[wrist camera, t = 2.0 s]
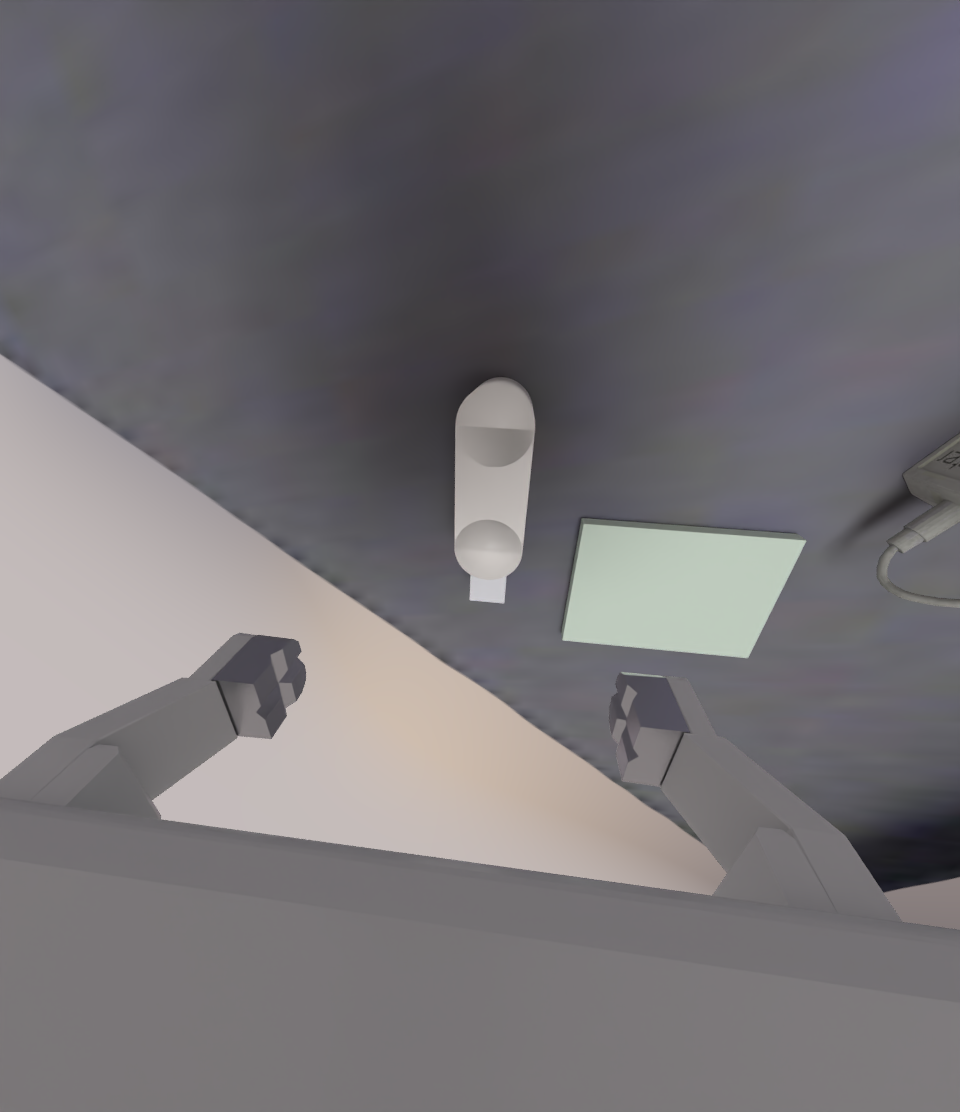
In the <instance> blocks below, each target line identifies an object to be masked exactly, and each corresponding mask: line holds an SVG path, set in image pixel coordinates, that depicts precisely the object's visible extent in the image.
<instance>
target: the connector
mask: <svg viewBox="0 0 960 1112" xmlns="http://www.w3.org/2000/svg"><path fill="white" fill-rule="evenodd" d="M534 435H535V418H534V411H533V405H532V401H531V398H530V396H529V394H528V392H527V390H526V389H525V388H524V387H523V386H522V385H521V384H520V383H518V382H517V381H515V380H513V379H510V378H506V377H496V378H492V379H489V380H487V381H485V382H483V383H482V384H481V385H480V386H478V387H477V388H476V389H475V390H474V391H473V392H472V393H470V394H469V395H468V396H467V397H466V398H465V400H464V401H463V402H462V404H461V406H460V408H459V410H458V413H457V417H456V425H455V555H456V558H457V561H458V563H459V564H460V566H461V567H462V568H463V569H464V570H465V571H466V572H467V573H469V574H470V575H471V577H470V600H473V601H484V602H495V603H504V599H505V587H506V576H507V575H509V574H510V573H512V572H513V571H514V570H515V569H516V568H517V566H518V565H519V563H520V561H521V558H522V551H523V541H524V532H525V522H526V512H527V503H528V493H529V483H530V474H531V464H532V454H533V445H534Z"/></svg>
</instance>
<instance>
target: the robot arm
mask: <svg viewBox="0 0 960 1112" xmlns="http://www.w3.org/2000/svg"><path fill="white" fill-rule="evenodd" d="M300 653H301V648H300V645H299V642H298V641H296V640H294V639H287V638H279V637H271V636H263V635H251V634H243V633H239V634H236V635H233V636H232V637H231V638H230V639H229V640H228V641H227V642H226V643H225V644H224V645H223V646H222V647H221V648H220V649H218V650H217V652H215V653H214V655H212V656H211V657H210V658H209V659H208V660H207V661H206V662H205V663H204V664H203V665H202V666H201V667H200V668H199V669H198V670H197V671H196V672H194V674H192V675H191V676H190V677H189V678H181V679H178V680H176V681H174V682H172V683H170V684H168V685H165V686H163V687H161V688H159V689H156V690H154V691H152V692H150V693H148V694H145V695H143V696H141V697H139V698H137V699H135V700H132V701H130V702H128V703H126V704H124V705H122V706H119V707H117V708H115V709H113V710H111V711H108V712H106V713H104V714H102V715H99V716H97V717H96V718H93V719H91V720H89V721H86V722H84V723H82V724H80V725H77V726H75V727H73V728H71V729H69V730H67V731H64V732H63V733H60V734H58V735H56V736H54V737H52V738H51V739H50V740H49V741H47V742H46V743H45V744H44V745H42V746H41V747H40V748H39V749H38V750H36V751H35V752H34V753H33V754H31V755H30V756H29V757H28V758H26V759H25V760H24V761H23V762H22V763H20V764H19V765H18V766H17V767H15V768H14V769H13V770H12V771H10V772H9V773H8V774H7V775H5V776H4V777H3V778H2V779H0V1112H960V930H957V929H949V928H942V927H935V926H928V925H920V924H913V923H905V922H902V920H901V919H900V917H899V916H898V915H897V913H896V911H895V910H894V908H893V907H892V905H891V904H890V902H889V901H888V899H887V898H886V897H885V895H884V893H883V892H882V890H881V889H880V887H879V886H878V884H877V883H876V881H875V880H874V878H873V877H872V875H871V874H870V872H869V871H868V869H867V868H866V866H865V865H864V863H863V862H862V860H861V859H860V857H859V856H858V854H857V853H856V851H855V850H854V848H853V847H852V845H851V844H850V842H849V841H848V839H847V838H846V836H845V835H844V834H842V833H841V832H840V831H839V830H837V829H836V828H835V827H834V826H832V825H831V824H830V823H829V822H828V821H826V820H825V819H824V818H823V817H821V816H820V815H819V814H818V813H817V812H815V811H814V810H813V809H812V808H810V807H809V806H808V805H807V804H805V803H804V802H803V801H802V800H801V799H799V798H798V797H797V796H796V795H794V794H793V793H792V792H791V791H790V790H788V789H787V788H786V787H785V786H783V785H782V784H781V783H780V782H778V781H777V780H776V779H775V778H774V777H772V776H771V775H770V774H769V773H767V772H766V771H765V770H764V769H763V768H761V767H760V766H759V765H758V764H756V763H755V762H754V761H753V760H751V759H750V758H749V757H748V756H747V755H745V754H744V753H743V752H742V751H740V750H739V749H738V748H737V747H736V746H734V745H733V744H732V743H731V742H729V741H728V740H727V739H726V738H724V737H717V735H716V733H715V731H714V729H713V727H712V725H711V723H710V721H709V719H708V717H707V715H706V714H705V712H704V710H703V708H702V706H701V704H700V702H699V700H698V698H697V696H696V694H695V692H694V690H693V688H692V686H691V684H690V683H689V681H688V680H687V679H686V678H682V677H671V676H657V675H646V674H635V673H625V672H620V673H619V675H618V676H617V680H616V683H615V684H616V688H617V692H618V693H616V694H615V695H614V696H612V697H611V702H610V706H609V726H610V731H611V736H612V738H613V739H614V740H615V741H616V742H617V743H618V748H617V751H616V758H617V762H618V766H619V770H620V774H621V779H622V781H625V782H632V783H638V784H645V785H652V786H659V787H661V788H660V789H661V790H662V792H663V793H664V794H665V795H666V797H667V798H668V799H669V800H670V802H671V803H672V804H673V805H674V807H675V808H676V809H677V810H678V812H679V813H680V814H681V816H682V817H683V818H684V819H685V821H686V822H687V823H688V824H689V826H690V827H691V828H692V829H693V831H694V832H695V833H696V835H697V836H698V837H699V838H700V840H701V841H702V842H703V843H704V845H705V846H706V847H707V848H708V850H709V851H710V852H711V853H712V855H713V856H714V857H715V858H716V860H717V861H718V862H719V864H720V865H721V866H722V867H723V869H724V870H725V871H726V872H727V874H726V876H725V877H724V879H723V880H722V882H721V883H720V885H719V886H718V888H717V889H716V891H715V892H714V894H713V895H712V896H710V895H703V894H696V893H688V892H681V891H674V890H667V889H660V888H652V887H645V886H638V885H630V884H623V883H616V882H609V881H602V880H594V879H587V878H580V877H573V876H565V875H558V874H551V873H544V872H537V871H530V870H522V869H515V868H508V867H500V866H494V865H486V864H479V863H472V862H464V861H458V860H451V859H443V858H436V857H429V856H422V855H414V854H407V853H399V852H393V851H385V850H378V849H371V848H364V847H356V846H349V845H341V844H334V843H326V842H320V841H312V840H305V839H298V838H290V837H284V836H276V835H268V834H262V833H254V832H247V831H240V830H233V829H226V828H218V827H210V826H203V825H196V824H190V823H182V822H175V821H168V820H161V815H160V813H159V811H158V810H157V808H156V807H155V805H154V804H153V802H152V800H153V799H154V798H156V797H157V796H159V794H161V793H163V792H164V791H165V790H167V789H168V788H169V787H171V786H172V785H174V784H175V783H176V782H178V781H179V780H180V779H182V778H183V777H184V776H186V775H187V774H189V773H190V772H191V771H192V770H194V769H195V768H197V767H198V766H200V765H201V764H202V763H204V762H205V761H206V760H208V759H209V758H211V757H212V756H213V755H215V754H216V753H217V752H218V751H220V750H221V749H223V748H224V747H226V746H227V745H228V744H230V743H231V742H232V741H234V740H235V739H236V738H237V736H244V737H255V738H267V739H272V737H273V736H274V734H275V733H276V731H277V730H278V728H279V727H280V725H281V724H282V722H283V721H284V719H285V718H286V716H287V715H286V707H288V706H289V705H291V704H293V703H294V702H296V701H297V699H298V698H299V696H300V694H301V693H302V691H303V687H304V684H305V681H306V670H305V665H304V664H303V663H302V662H301V661H300V660H299V659H298V658H297V657H298V656H299V654H300Z"/></svg>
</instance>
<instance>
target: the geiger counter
mask: <svg viewBox="0 0 960 1112" xmlns="http://www.w3.org/2000/svg"><path fill="white" fill-rule="evenodd" d="M903 477H904V479H905V481H906V484H907V486H908V488H909V490H910V492H911V494H913V495H914V496H916V497H918V498H919V499H921V500H923V501H924V502H926V503H928V504H929V505H932V506H934V507H933V508H931V509H930V510H928V511H927V512H925V513H923V514H922V515H920V516H919V517H917V518H916V519H914V520H913V521H911V522H910V523H908V524H907V525H905V526H904V528H905V529H904V530H902V531H901V532H899V533H898V534H896V535H895V536H893V537H891V538H890V539H888V540H887V541H886V542H887V543H888V544H889V545H890V546H889V547H888V548H887V549H886V550H885V551H884V553H883V554H882V555H881V557H880V559H879V562H878V565H877V579H878V580H879V582H880V584H881V585H882V586H883V587H884V588H885V589H886V590H888V591H889V592H891V593H893V594H894V595H896V596H898V597H901V598H904V599H906V600H910V601H914V602H918V603H924V604H929V605H935V606H944V607H957V608H960V599H946V598H936V597H930V596H924V595H919V594H914V593H911V592H907V591H904V590H902V589H900V588H898V587H896V586H895V585H894V584H893V583H892V582H891V581H890V580H889V578H888V577H887V568H888V565H889V562H890V559H891V558H892V557H893V555H894V554H895V553H896V552H897V551H899V552H901V553H905V552H907V551H908V550H910V549H911V548H913V547H915V546H916V545H918V544H919V543H921V542H928V541H929V540H931V539H933V538H934V537H936V536H937V535H939V534H941V533H942V532H944V531H945V530H947V529H949V528H950V527H952V526H954V525H955V524H957V523H958V522H960V433H959V434H958V435H957V436H955V437H954V438H952V439H951V440H950V441H948V442H947V443H945V444H944V445H943V446H941V447H940V448H938V449H937V450H935V451H934V452H933V453H931V454H930V455H928V456H927V457H926V458H924V459H923V460H921V461H920V462H919V463H917V464H916V465H914V466H913V467H912V468H910V469H909V470H907V471H906V472H904V473H903Z"/></svg>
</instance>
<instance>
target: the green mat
mask: <svg viewBox="0 0 960 1112" xmlns="http://www.w3.org/2000/svg"><path fill="white" fill-rule="evenodd" d="M805 543H806V540H805V539H804V538H802V537H801V536H799V535H798V534H792V533H779V532H765V531H751V530H738V529H724V528H711V527H697V526H683V525H670V524H656V523H643V522H629V521H616V520H602V519H588V518H582V519H581V525H580V530H579V536H578V541H577V547H576V553H575V558H574V564H573V569H572V575H571V580H570V586H569V592H568V597H567V603H566V608H565V614H564V620H563V625H562V631H561V634H562V640H565V641H575V642H585V643H596V644H606V645H617V646H627V647H638V648H648V649H659V650H669V651H679V652H690V653H700V654H711V655H721V656H732V657H742V658H748V657H749V655H750V653H751V651H752V649H753V647H754V645H755V643H756V641H757V639H758V637H759V635H760V633H761V631H762V629H763V627H764V625H765V623H766V621H767V619H768V617H769V615H770V613H771V611H772V609H773V607H774V605H775V603H776V601H777V599H778V597H779V595H780V593H781V591H782V589H783V587H784V585H785V583H786V581H787V579H788V577H789V575H790V573H791V571H792V569H793V567H794V565H795V563H796V561H797V559H798V557H799V555H800V553H801V551H802V549H803V547H804V545H805Z"/></svg>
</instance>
